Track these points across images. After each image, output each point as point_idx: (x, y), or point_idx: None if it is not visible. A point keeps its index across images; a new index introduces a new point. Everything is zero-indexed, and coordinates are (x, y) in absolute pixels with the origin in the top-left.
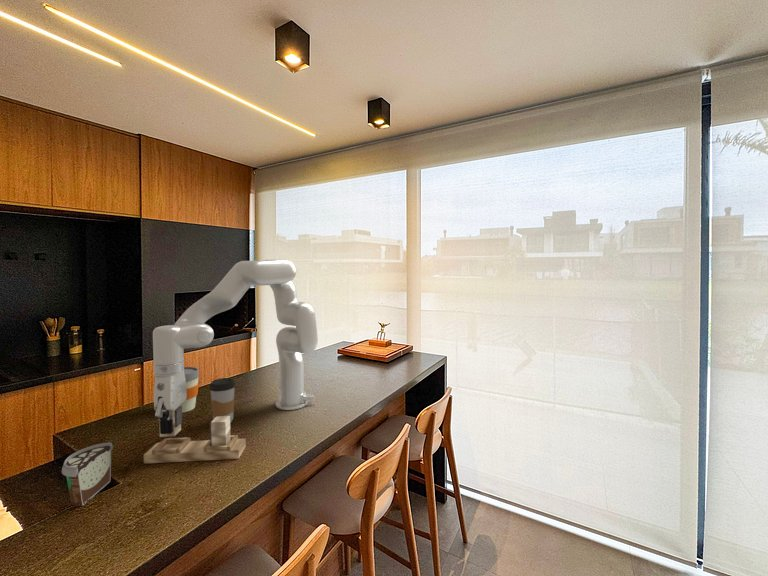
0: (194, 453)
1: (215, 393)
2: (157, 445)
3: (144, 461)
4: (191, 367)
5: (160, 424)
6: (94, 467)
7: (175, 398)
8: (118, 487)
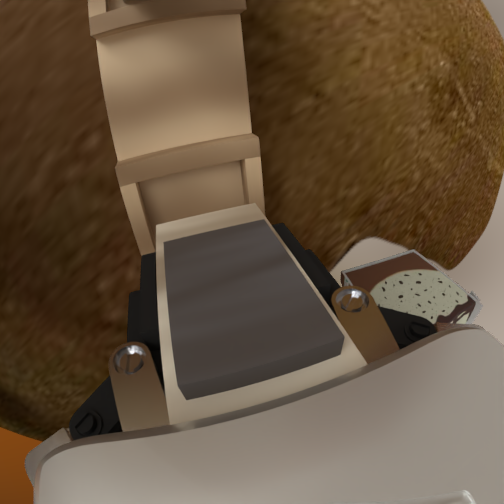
0: (243, 58)
1: None
2: None
3: None
4: None
5: None
6: (427, 302)
7: (495, 461)
8: (371, 229)
